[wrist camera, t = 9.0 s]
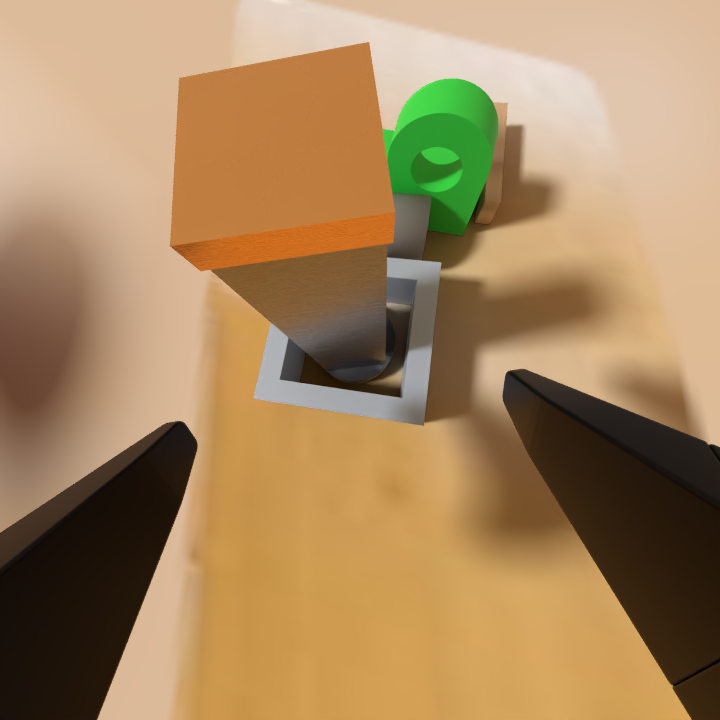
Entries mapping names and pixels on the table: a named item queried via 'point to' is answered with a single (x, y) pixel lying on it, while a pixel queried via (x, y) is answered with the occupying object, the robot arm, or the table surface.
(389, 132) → the mechanical part
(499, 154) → the bay rails
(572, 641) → the table surface
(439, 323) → the table surface
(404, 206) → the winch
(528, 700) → the table surface
